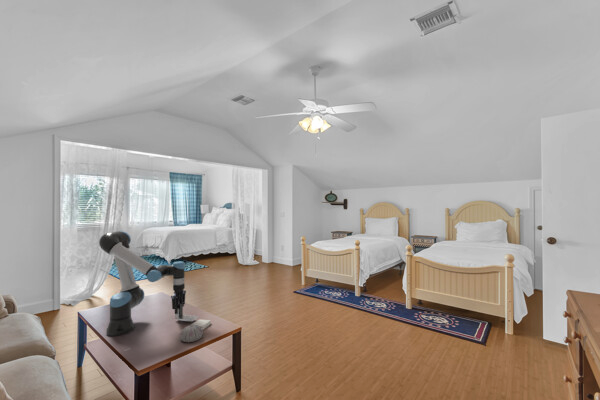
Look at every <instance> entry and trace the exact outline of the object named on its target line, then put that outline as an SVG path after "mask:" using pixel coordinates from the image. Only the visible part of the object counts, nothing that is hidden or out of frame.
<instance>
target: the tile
mask: <svg viewBox="0 0 600 400" xmlns="http://www.w3.org/2000/svg"><path fill="white" fill-rule="evenodd" d="M192 324H193V325H198V326H199V327H200V328H201V329H202V331H204V330H205V329H206V328H207V327H208V326H210V325H211V319H201V318H200V319H198V318H197V319H196V321H194V322H193V323H191V324H190V325H192Z"/></svg>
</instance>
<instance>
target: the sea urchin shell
mask: <svg viewBox="0 0 600 400" xmlns="http://www.w3.org/2000/svg"><path fill="white" fill-rule="evenodd" d="M191 324H192V325H191ZM191 324H189V325H187V326H185V327H184V328H182V329H181V331H180V333H179V339H180V341H181V342H183V343H194V342H197V341H198V340H200V339H202V337H203V333H204V330H202V329H201V328H200V327H199V326H198V325H193V323H191Z"/></svg>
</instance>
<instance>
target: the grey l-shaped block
mask: <svg viewBox="0 0 600 400" xmlns="http://www.w3.org/2000/svg"><path fill="white" fill-rule="evenodd" d="M178 309H179V318H175V317H174V319H176V320H178V321H184V322H193V321H194V322H195V320H198V318H199V315H193V314H192V315H191V314H184V313H183V311H184V310H183V309H184V308H183V303H179V305H178Z"/></svg>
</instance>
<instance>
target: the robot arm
mask: <svg viewBox="0 0 600 400" xmlns="http://www.w3.org/2000/svg"><path fill="white" fill-rule="evenodd" d="M131 242H132V241H131V236H130V235H129V233H127V232H126V231H122V230H121V231H120V230H119V231H118V230H117V231H113V232H106V233H104V234H103V235H101V237H100V238H99V241H98V245H99V246H100V248H101V250H103V252H105V253H107V254H108V255H110V256H113V257H114V262H115V265H116V269H117V274H118V278H119V281H120V284H121V289H120V290H119V291H120V292H119V293H115V294H114V295H112V296H111V297H110V299H109V322H108V324H107V328H106V332H105V333H106V335H107V336H108V337H109V336H110V337H115V336H122V335H125V334H128V333H131V332H132V331H133V330H134V329H135V324H134V321H133V318H132V309H134V308H135V307H136V306H137V307H138V306H139V305H140V304H141V303H142V302H143V300H144V298H145V291H144V290H143V288H141V287H140V284H139V283H137V282H136V278H135V274H134V271H133V269H135V270H136V271H138V272H139V273H142V275H144V276H146V280H147V281H148V282H150V283H155V282H159V280H161V279H163V278H164V277H169V276H170V277H171V276H172V278H173V279H172V284H173V285H172V290H173V295H171V296H170V298H171V306H172V307H171V308H172V310H174V319H175V318H179V309H178V305H179V303H183V307H185V305H186V292H187V290H185V289H186V288H185V287H186V285H185V274H186V273H185V271H186V267H185V262H184V261H181V260H180V261H174V262H173V263H172V264H158V265H154V264H151V263H150V262H149V261H147V260H146V259H144V258H143V257H141V256H140V255H138V254H136V252H133V251H132V250H130V243H131Z"/></svg>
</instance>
